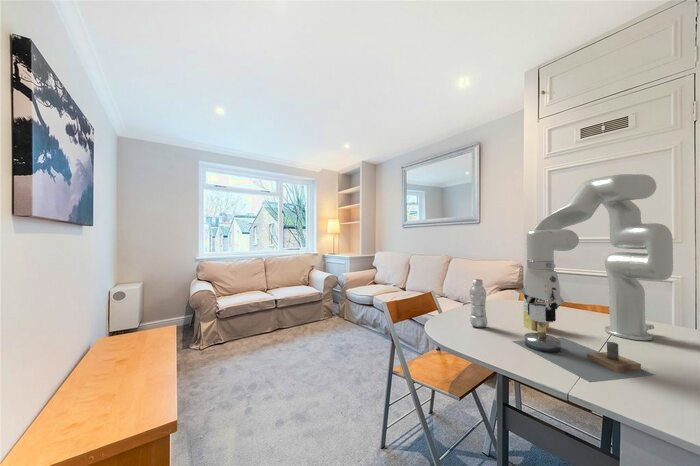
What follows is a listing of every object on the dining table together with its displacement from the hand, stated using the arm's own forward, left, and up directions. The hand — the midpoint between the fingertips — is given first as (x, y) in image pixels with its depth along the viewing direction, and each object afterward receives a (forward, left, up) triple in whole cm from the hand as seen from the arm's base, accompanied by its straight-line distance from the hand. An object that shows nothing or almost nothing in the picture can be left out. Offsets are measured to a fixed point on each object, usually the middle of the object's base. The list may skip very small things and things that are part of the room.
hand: (541, 317), depth 90 cm
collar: (0, 0, -1) cm, 1 cm away
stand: (-10, +14, -10) cm, 20 cm away
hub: (0, 0, -10) cm, 10 cm away
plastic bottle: (+8, -23, -11) cm, 27 cm away
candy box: (-14, -17, -11) cm, 25 cm away
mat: (-4, +7, -11) cm, 14 cm away
